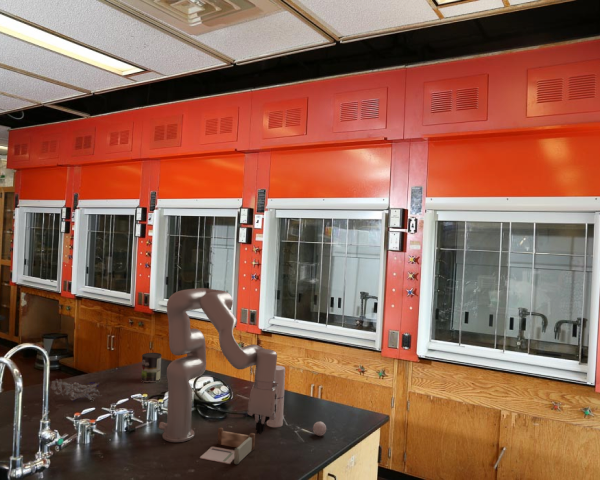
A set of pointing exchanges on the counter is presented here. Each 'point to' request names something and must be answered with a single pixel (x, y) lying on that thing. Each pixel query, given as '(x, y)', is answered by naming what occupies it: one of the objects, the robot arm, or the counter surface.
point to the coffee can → (151, 366)
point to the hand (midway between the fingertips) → (259, 432)
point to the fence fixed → (233, 438)
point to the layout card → (219, 455)
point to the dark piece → (75, 389)
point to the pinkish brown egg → (319, 428)
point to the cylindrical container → (279, 397)
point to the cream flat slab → (242, 450)
